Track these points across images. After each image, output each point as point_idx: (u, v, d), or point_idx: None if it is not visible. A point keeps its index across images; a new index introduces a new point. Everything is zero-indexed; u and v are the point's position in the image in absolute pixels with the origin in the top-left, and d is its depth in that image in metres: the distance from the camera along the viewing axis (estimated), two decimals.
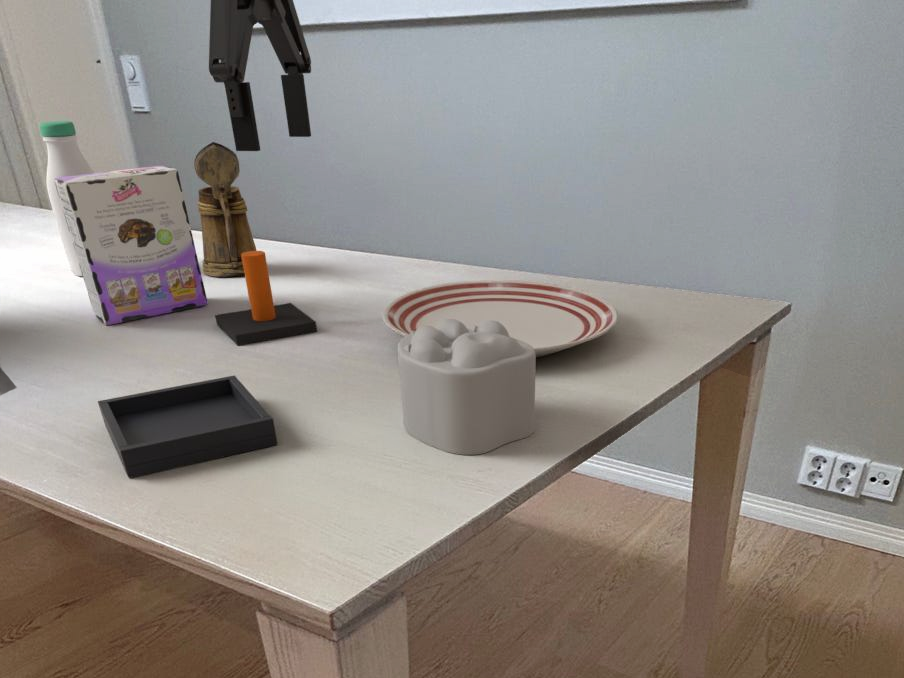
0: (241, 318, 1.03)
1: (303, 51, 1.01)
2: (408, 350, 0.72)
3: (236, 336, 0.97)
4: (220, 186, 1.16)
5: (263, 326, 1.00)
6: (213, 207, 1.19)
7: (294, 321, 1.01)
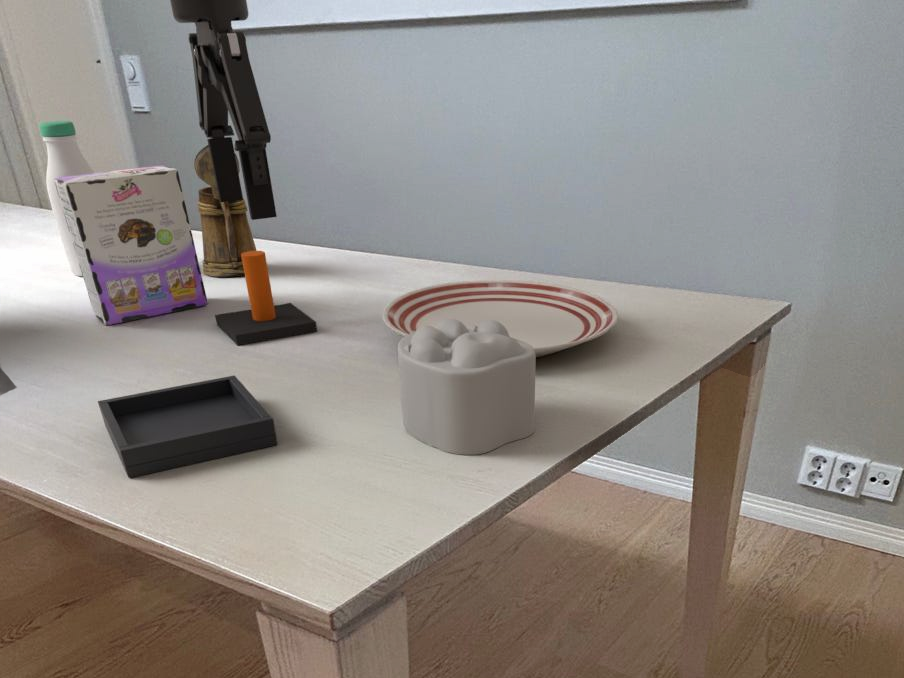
0: (241, 318, 1.03)
1: None
2: (408, 350, 0.72)
3: (236, 336, 0.97)
4: None
5: (263, 326, 1.00)
6: (213, 207, 1.19)
7: (294, 321, 1.01)
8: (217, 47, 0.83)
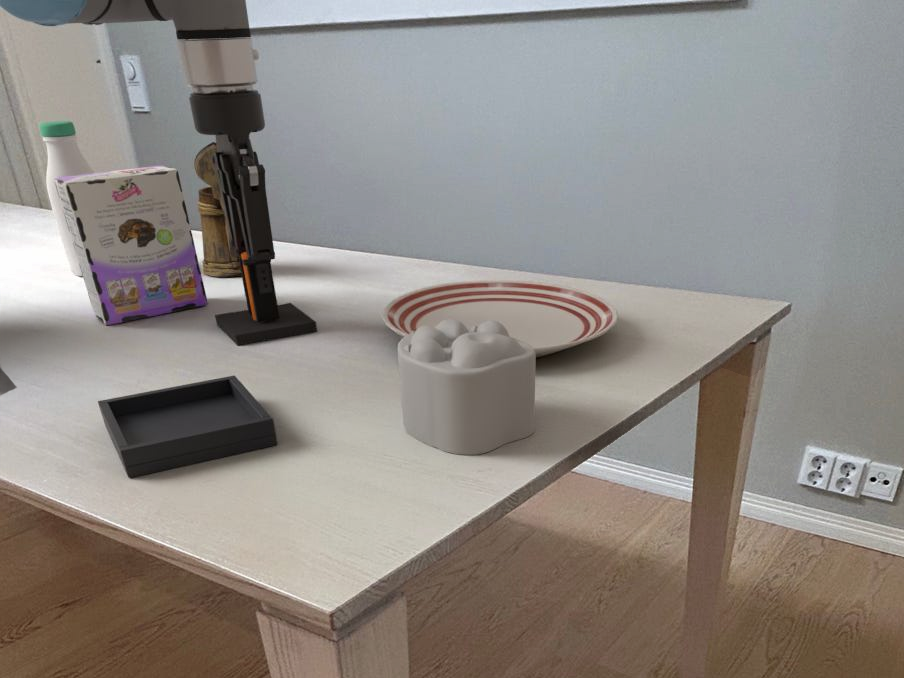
0: (241, 318, 1.03)
1: None
2: (408, 350, 0.72)
3: (236, 336, 0.97)
4: None
5: (263, 326, 1.00)
6: (213, 207, 1.19)
7: (294, 321, 1.01)
8: (236, 162, 0.89)
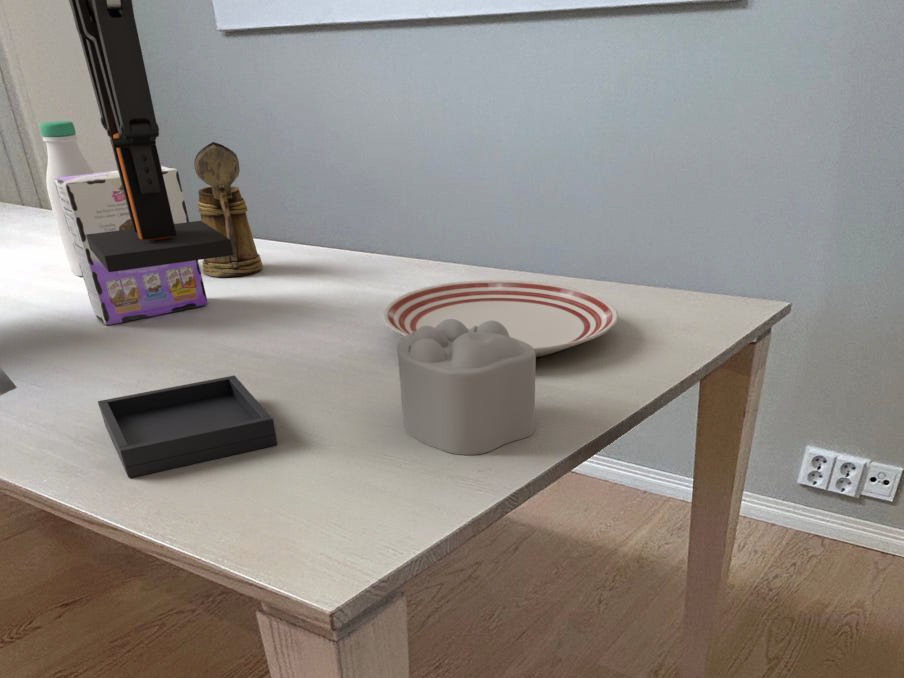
0: (122, 237, 0.70)
1: None
2: (408, 350, 0.72)
3: (106, 257, 0.64)
4: (220, 186, 1.16)
5: (151, 245, 0.67)
6: (213, 207, 1.19)
7: (198, 239, 0.68)
8: None
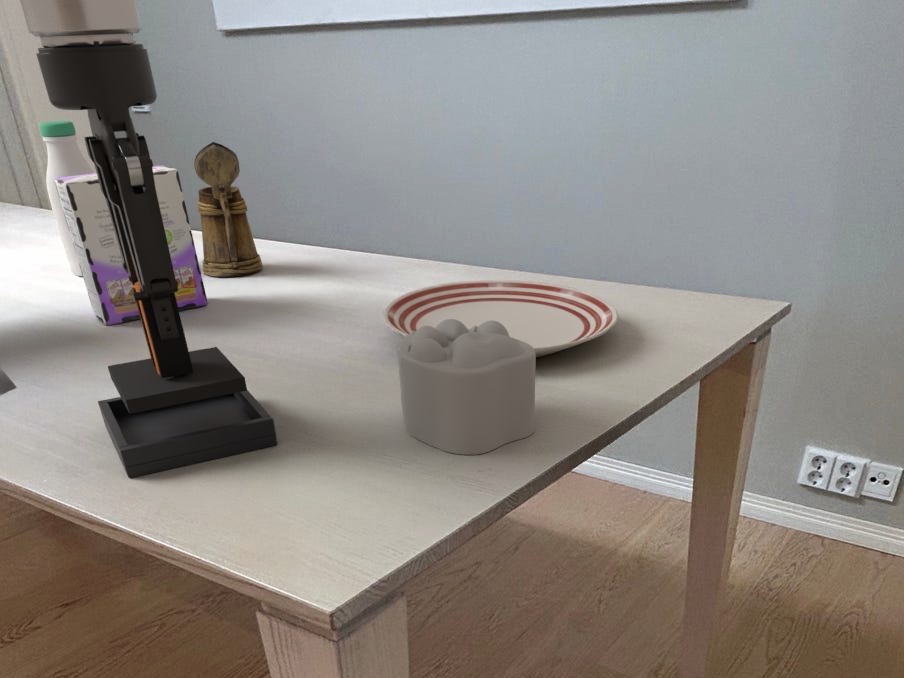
0: (142, 371, 0.73)
1: None
2: (408, 350, 0.72)
3: (127, 401, 0.68)
4: (220, 186, 1.16)
5: (169, 384, 0.70)
6: (213, 207, 1.19)
7: (214, 376, 0.72)
8: (110, 151, 0.60)
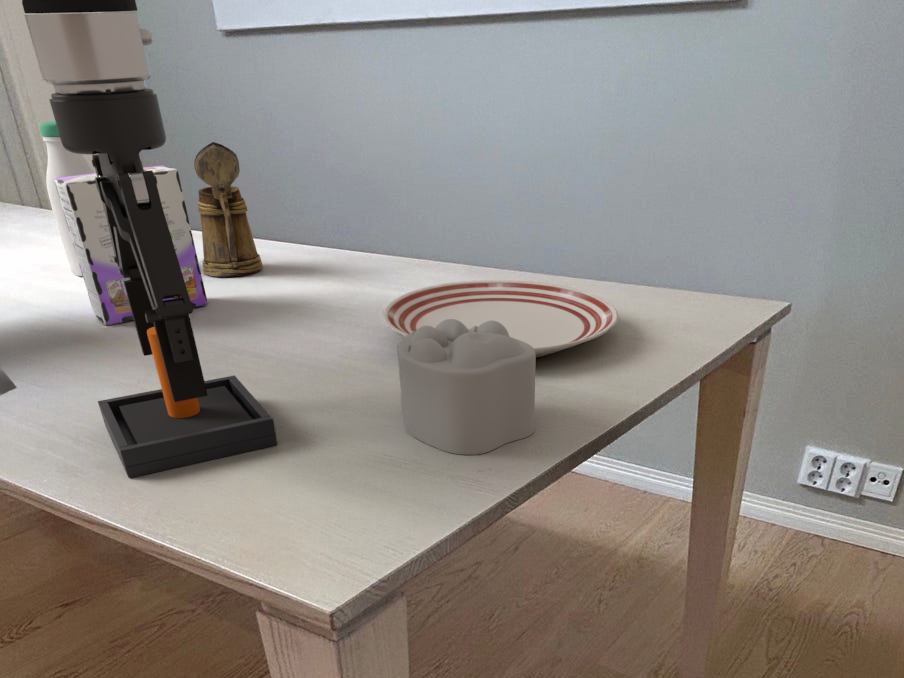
0: (153, 412, 0.76)
1: None
2: (408, 350, 0.72)
3: None
4: (220, 186, 1.16)
5: (180, 427, 0.73)
6: (213, 207, 1.19)
7: (223, 418, 0.74)
8: (120, 188, 0.61)
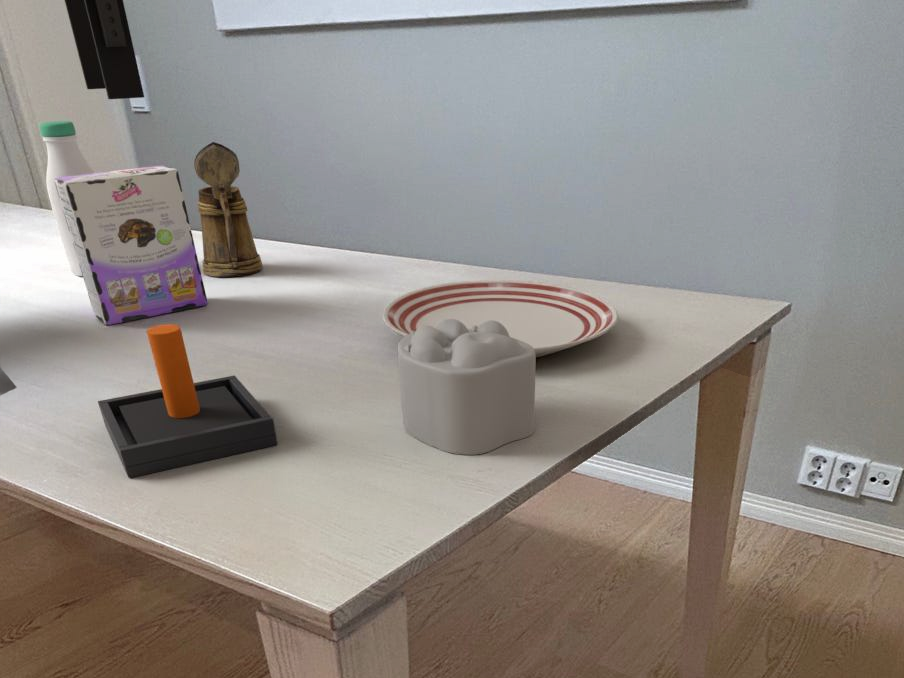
0: (153, 412, 0.76)
1: None
2: (408, 350, 0.72)
3: None
4: (220, 186, 1.16)
5: (180, 427, 0.73)
6: (213, 207, 1.19)
7: (223, 418, 0.74)
8: None
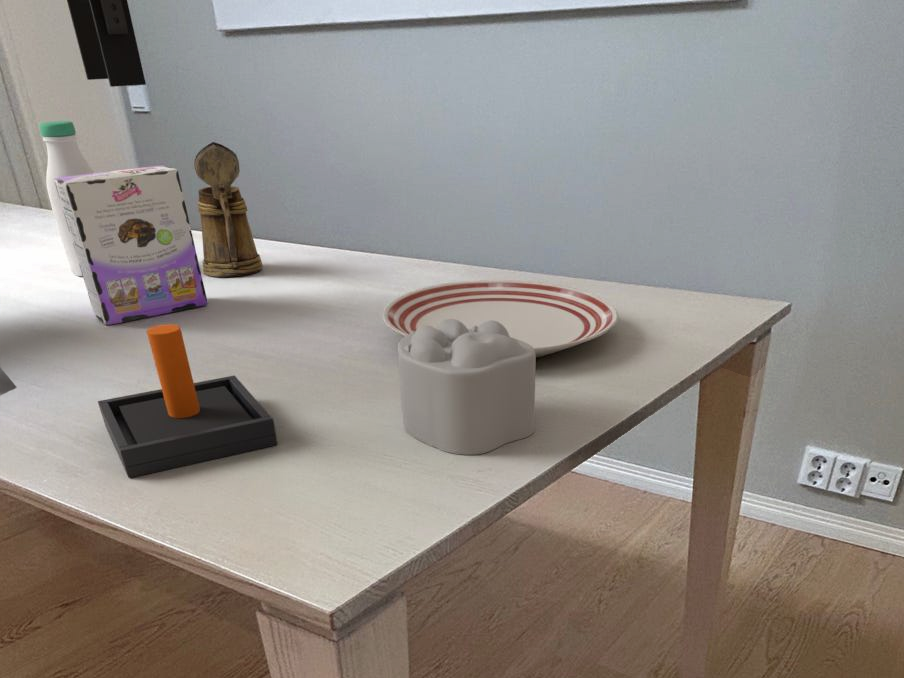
0: (153, 412, 0.76)
1: None
2: (408, 350, 0.72)
3: None
4: (220, 186, 1.16)
5: (180, 427, 0.73)
6: (213, 207, 1.19)
7: (223, 418, 0.74)
8: None
